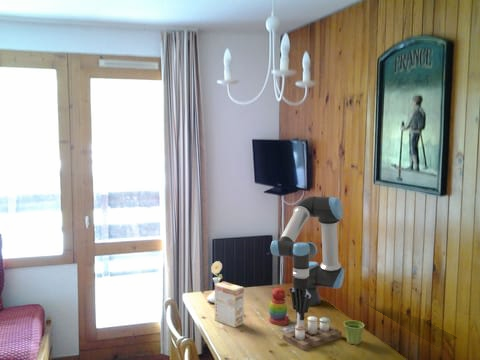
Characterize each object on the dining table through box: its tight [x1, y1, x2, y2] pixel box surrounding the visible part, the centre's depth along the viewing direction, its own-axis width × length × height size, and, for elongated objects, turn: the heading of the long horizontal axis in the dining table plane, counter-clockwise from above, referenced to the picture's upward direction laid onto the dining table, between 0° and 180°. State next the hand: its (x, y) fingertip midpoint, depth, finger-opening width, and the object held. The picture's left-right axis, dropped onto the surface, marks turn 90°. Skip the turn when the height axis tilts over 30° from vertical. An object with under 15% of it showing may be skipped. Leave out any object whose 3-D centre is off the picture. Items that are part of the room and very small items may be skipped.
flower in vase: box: [206, 260, 224, 304], centre depth 261 cm, size 13×11×25 cm
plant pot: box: [343, 319, 365, 345], centre depth 208 cm, size 9×9×9 cm
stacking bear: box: [268, 286, 290, 327], centre depth 232 cm, size 11×10×18 cm
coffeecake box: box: [214, 281, 245, 329], centre depth 231 cm, size 15×7×20 cm, turn 47°
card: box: [278, 322, 308, 334], centre depth 224 cm, size 14×6×1 cm, turn 125°
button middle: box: [307, 316, 319, 335], centre depth 212 cm, size 5×5×7 cm
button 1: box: [295, 324, 306, 341], centre depth 208 cm, size 5×5×7 cm
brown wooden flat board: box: [282, 322, 343, 351], centre depth 213 cm, size 25×14×2 cm, turn 125°
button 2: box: [319, 316, 331, 333], centre depth 217 cm, size 5×5×7 cm
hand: (300, 326), depth 207 cm, fingers closed
